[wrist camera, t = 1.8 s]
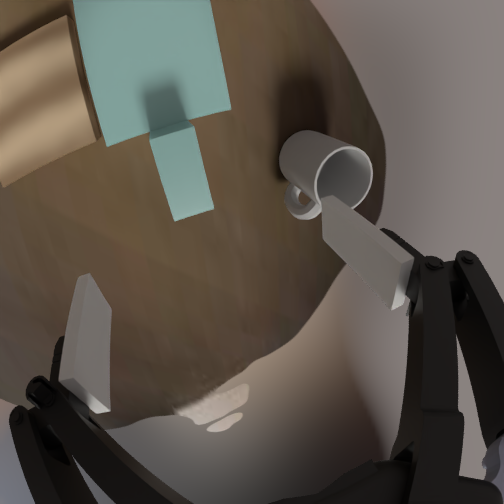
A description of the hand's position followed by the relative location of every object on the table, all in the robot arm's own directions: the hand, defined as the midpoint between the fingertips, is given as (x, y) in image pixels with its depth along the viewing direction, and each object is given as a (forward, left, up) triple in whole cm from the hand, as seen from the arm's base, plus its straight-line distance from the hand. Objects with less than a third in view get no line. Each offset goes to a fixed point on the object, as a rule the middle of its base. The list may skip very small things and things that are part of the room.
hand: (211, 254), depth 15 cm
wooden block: (-13, -13, -19) cm, 26 cm away
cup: (+4, +14, -19) cm, 24 cm away
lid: (-9, 0, -13) cm, 16 cm away
